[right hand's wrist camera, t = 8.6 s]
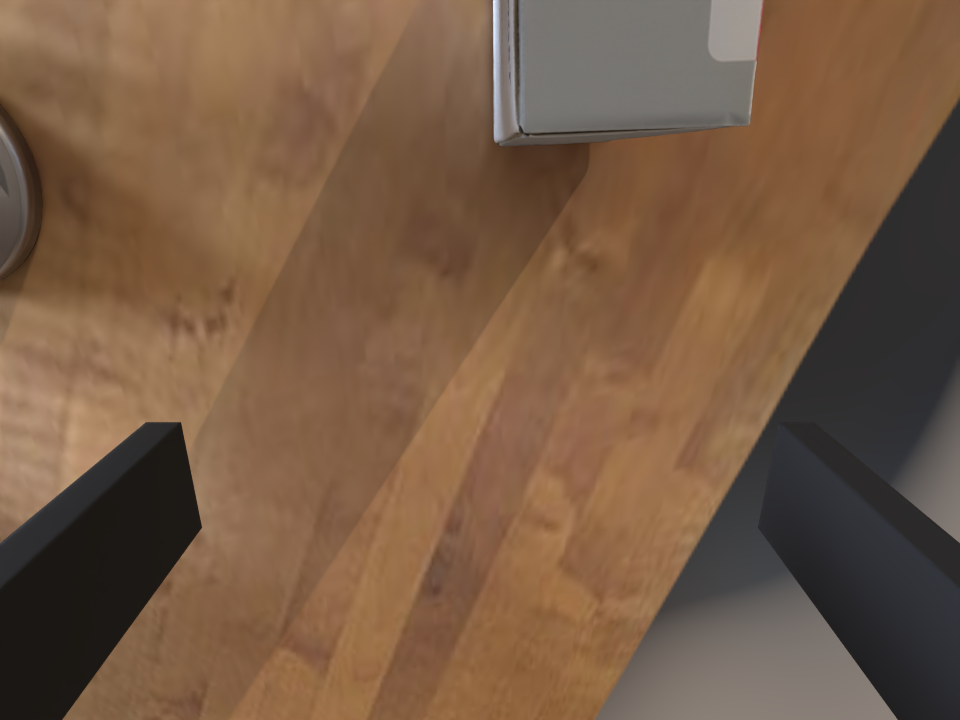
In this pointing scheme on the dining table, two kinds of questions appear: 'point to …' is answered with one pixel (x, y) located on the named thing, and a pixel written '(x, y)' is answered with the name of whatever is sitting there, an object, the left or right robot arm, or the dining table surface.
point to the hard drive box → (621, 68)
